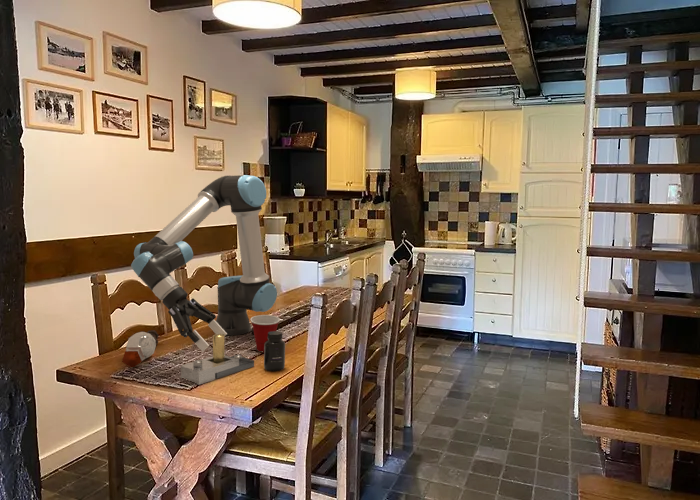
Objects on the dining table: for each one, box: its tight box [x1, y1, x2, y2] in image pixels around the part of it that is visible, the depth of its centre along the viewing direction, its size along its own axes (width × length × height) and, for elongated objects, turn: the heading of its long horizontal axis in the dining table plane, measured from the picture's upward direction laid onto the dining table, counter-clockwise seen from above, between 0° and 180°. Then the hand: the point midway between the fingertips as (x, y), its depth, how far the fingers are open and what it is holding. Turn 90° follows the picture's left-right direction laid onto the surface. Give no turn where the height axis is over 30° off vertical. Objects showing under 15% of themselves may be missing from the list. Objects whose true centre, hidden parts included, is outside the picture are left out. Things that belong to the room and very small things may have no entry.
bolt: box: [146, 330, 159, 346], centre depth 193 cm, size 6×5×15 cm
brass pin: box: [212, 333, 226, 364], centre depth 162 cm, size 4×4×12 cm
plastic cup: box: [249, 314, 281, 353], centre depth 187 cm, size 11×11×12 cm
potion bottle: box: [121, 331, 157, 368], centre depth 172 cm, size 9×10×15 cm
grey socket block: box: [180, 354, 239, 386], centre depth 160 cm, size 16×9×6 cm, turn 143°
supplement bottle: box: [263, 330, 286, 372], centre depth 167 cm, size 7×7×12 cm
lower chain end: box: [215, 353, 255, 380], centre depth 165 cm, size 16×9×4 cm, turn 143°
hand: (215, 342), depth 162 cm, fingers open, 13 cm apart
